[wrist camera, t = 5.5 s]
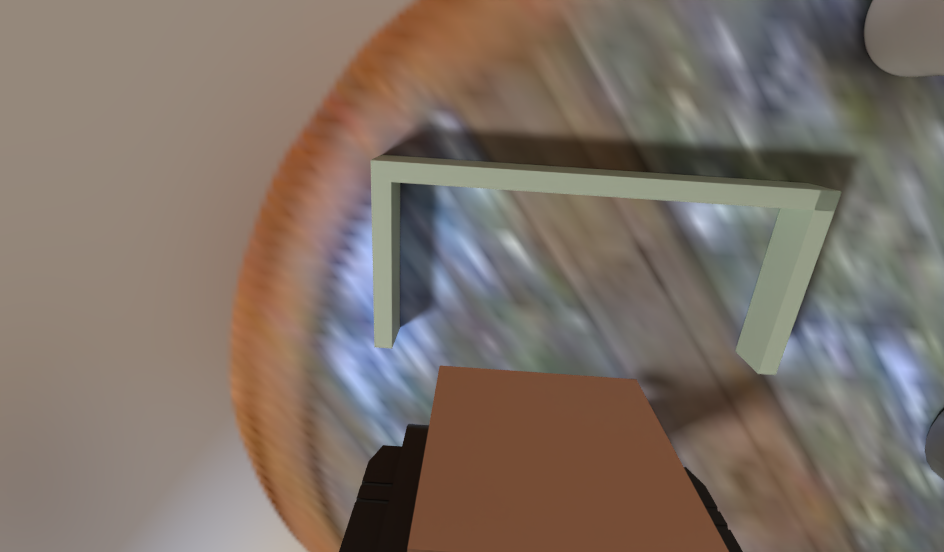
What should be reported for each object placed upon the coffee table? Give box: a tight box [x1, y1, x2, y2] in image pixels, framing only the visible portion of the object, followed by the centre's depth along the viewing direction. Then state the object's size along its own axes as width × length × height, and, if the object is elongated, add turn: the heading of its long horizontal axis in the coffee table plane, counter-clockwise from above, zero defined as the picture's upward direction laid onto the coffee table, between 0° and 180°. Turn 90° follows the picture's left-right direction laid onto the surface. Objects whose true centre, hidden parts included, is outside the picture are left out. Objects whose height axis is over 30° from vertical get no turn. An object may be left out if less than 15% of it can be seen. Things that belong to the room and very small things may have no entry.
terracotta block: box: [407, 366, 729, 552], centre depth 9 cm, size 4×4×4 cm
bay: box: [371, 155, 842, 375], centre depth 25 cm, size 23×10×2 cm, turn 87°
